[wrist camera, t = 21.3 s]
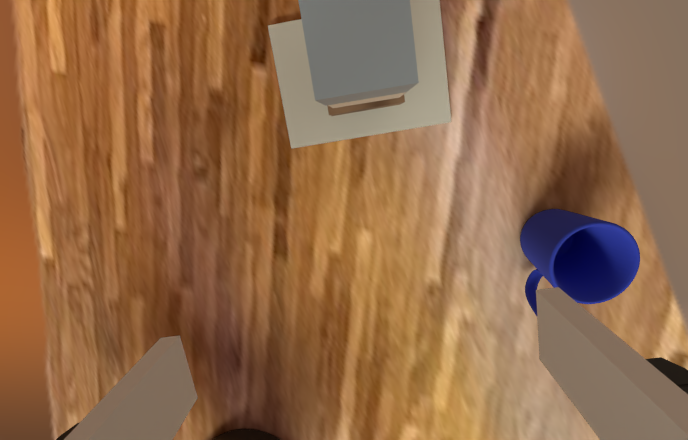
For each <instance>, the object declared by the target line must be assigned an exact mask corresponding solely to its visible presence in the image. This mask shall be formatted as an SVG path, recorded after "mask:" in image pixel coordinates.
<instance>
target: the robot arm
mask: <svg viewBox="0 0 688 440" xmlns="http://www.w3.org/2000/svg"><path fill="white" fill-rule="evenodd" d="M536 302H537V320H538V339H539V357H540V360H541V362H542V363H543V364H544V366H545V367H546V368H547V370H548V371H549V372H550V374H551V375H552V376H553V378H554V379H555V380H556V382H557V383H558V384H559V386H560V387H561V388H562V390H563V391H564V392H565V394H566V395H567V396H568V398H569V399H570V400H571V402H572V403H573V404H574V406H575V407H576V408H577V409H578V411H579V412H580V413H581V415H582V416H583V417H584V419H585V420H586V421H587V423H588V424H589V425H590V427H591V428H592V429H593V431H594V432H595V433H596V435H597V436H598V437H599V439H600V440H688V370H686V369H685V368H683V367H681V366H679V365H676V364H674V363H672V362H670V361H668V360H666V359H663V358H652V359H644V358H643V357H642V356H641V355H640V354H638V353H637V352H636V351H635V350H634V349H632V348H631V347H630V346H629V345H628V344H626V343H625V342H624V341H623V340H622V339H620V338H619V337H618V336H617V335H616V334H614V333H613V332H612V331H611V330H609V329H608V328H607V327H606V326H605V325H603V324H602V323H601V322H600V321H599V320H597V319H596V318H595V317H594V316H593V315H591V314H590V313H589V312H588V311H587V310H585V309H584V308H583V307H582V306H581V305H579V304H578V303H577V302H576V301H575V300H573V299H572V298H571V297H570V296H568V295H567V294H566V293H565V292H564V291H562V290H561V289H560V288H559V287H556V288H548V289H540V290H536ZM197 398H198V397H197V394H196V390H195V387H194V383H193V380H192V376H191V373H190V369H189V366H188V362H187V359H186V355H185V352H184V348H183V345H182V341H181V338H180V335H179V336H171V337H164V338H160V339H159V340H158V341H157V342H156V343H155V344H154V345H153V346H152V347H151V349H150V350H149V351H148V352H147V353H146V354H145V355H144V356H143V357H142V358H141V359H140V360H139V361H138V362H137V363H136V364H135V365H134V366H133V367H132V368H131V370H130V371H129V372H128V373H127V374H126V375H125V376H124V377H123V378H122V379H121V380H120V381H119V382H118V383H117V384H116V385H115V386H114V387H113V388H112V389H111V391H110V392H109V393H108V394H107V395H106V396H105V397H104V398H103V399H102V400H101V401H100V402H99V403H98V404H97V405H96V406H95V407H94V408H93V409H92V411H91V412H90V413H89V414H88V415H87V416H86V417H85V418H84V419H83V420H82V421H81V422H80V423H77V424H76V425H75V426H73V427H72V428H70V429H69V430H68V431H66V432H65V433H64V434H62V435H61V436H59V437H58V438H57V439H56V440H172V439H173V438H174V436H175V435H176V433H177V431H178V430H179V428H180V426H181V425H182V423H183V421H184V420H185V418H186V416H187V415H188V413H189V411H190V410H191V408H192V406H193V405H194V403H195V402H196V400H197ZM213 440H280V439H278V438H276V437H274V436H272V435H270V434H268V433H265V432H261V431H257V430H249V429H241V430H233V431H229V432H226V433H224V434H221V435H219V436H218V437H216V438H214V439H213Z"/></svg>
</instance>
